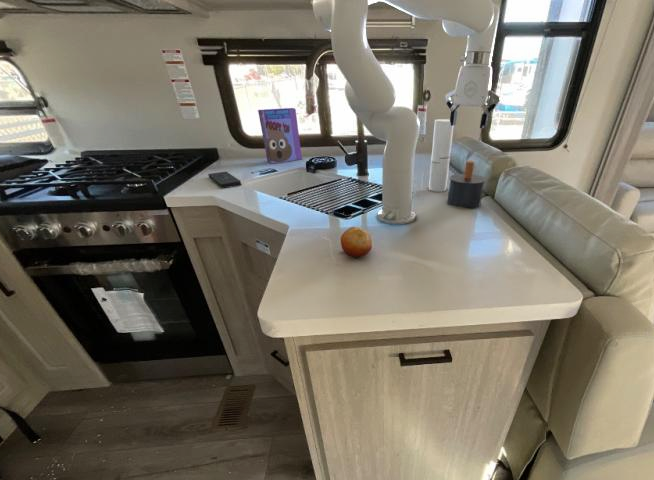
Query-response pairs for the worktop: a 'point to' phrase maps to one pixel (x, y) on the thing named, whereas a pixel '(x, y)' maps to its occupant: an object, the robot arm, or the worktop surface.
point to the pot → (465, 195)
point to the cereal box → (280, 135)
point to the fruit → (356, 242)
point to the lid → (468, 176)
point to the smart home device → (224, 179)
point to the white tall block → (440, 154)
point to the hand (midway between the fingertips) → (467, 126)
